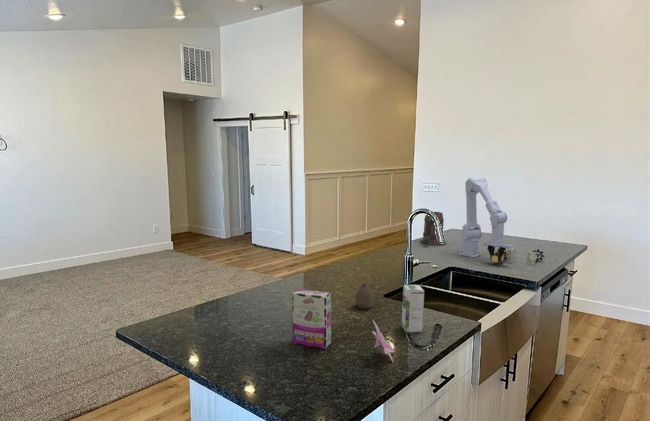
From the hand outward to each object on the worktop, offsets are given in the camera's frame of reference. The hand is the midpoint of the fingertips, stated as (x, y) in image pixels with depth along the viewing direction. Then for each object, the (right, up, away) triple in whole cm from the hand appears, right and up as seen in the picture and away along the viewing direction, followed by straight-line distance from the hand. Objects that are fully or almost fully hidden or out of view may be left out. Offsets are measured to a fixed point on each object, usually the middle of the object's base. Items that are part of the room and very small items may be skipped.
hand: (495, 260), depth 224 cm
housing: (+8, -1, +10) cm, 13 cm away
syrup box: (-60, -14, -80) cm, 101 cm away
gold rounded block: (+2, -2, +3) cm, 4 cm away
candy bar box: (-93, -15, -91) cm, 131 cm away
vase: (-74, -11, -60) cm, 96 cm away
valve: (+22, -2, +5) cm, 23 cm away
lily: (-73, -17, -100) cm, 124 cm away
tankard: (-21, +5, +49) cm, 54 cm away
